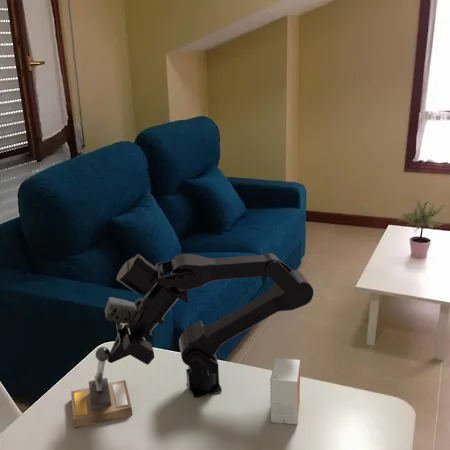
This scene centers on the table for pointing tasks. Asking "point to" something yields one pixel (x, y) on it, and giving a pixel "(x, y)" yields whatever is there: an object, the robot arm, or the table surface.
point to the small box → (285, 391)
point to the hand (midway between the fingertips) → (109, 361)
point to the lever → (101, 366)
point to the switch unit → (100, 403)
